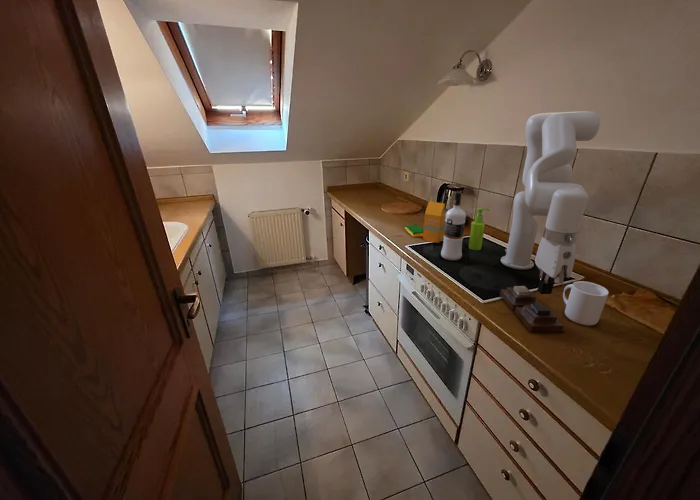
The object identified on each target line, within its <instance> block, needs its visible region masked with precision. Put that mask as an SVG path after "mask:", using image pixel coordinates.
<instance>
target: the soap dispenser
mask: <svg viewBox="0 0 700 500" xmlns="http://www.w3.org/2000/svg"><path fill="white" fill-rule="evenodd" d="M476 211H477V213H476V214H475V216H474V220H473V221H471V224H470V226H471V227H470V233H469V238H468V245H467V247H468V249H469V250H472V251H481V250H482V246H483V239H484V234H485V227H486V222H484V220H483V219H484V215H483V214H482V213H483V211H486V212H488V211H490V209H489V208H486V207H477V208H476Z"/></svg>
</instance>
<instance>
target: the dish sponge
mask: <svg viewBox="0 0 700 500" xmlns="http://www.w3.org/2000/svg"><path fill="white" fill-rule="evenodd" d="M404 227H405V228H404V230H405V231H406V232H407V233H408V234H410V236H412V237H413V238H415V237H416V238H418V237H423V232H424V228H422V227H421V226H420V225H418V224H405V226H404Z"/></svg>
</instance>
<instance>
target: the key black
mask: <svg viewBox="0 0 700 500" xmlns="http://www.w3.org/2000/svg"><path fill="white" fill-rule="evenodd" d="M530 309H531V310H532V311H533V312H534V313H535V314H536V315H549V314H550V311H551V310H550V308H549V307H547V305H545V304H544V303H541V304H531V308H530Z"/></svg>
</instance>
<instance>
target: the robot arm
mask: <svg viewBox="0 0 700 500" xmlns="http://www.w3.org/2000/svg"><path fill="white" fill-rule="evenodd" d="M600 121H601V120H600V116H599V115H598V113H596V111H592V110H585V111H582V110H581V111H560V112H542V113H536V114H533V115H531V116H529V118H528V119H527V121H526V124H525V129H524V134H525V141H526V150H527V151H526V157H525V162H524V165H523V166H524V167H523V172H522V179H521V181H522V185H523V186H524V190H522V191H519V192H517V193H516V194H515V195H514V198H513V207H512V209H513V210H512V211H513V212H512V219H511V226H510V230H509V237H508V240H507V241H508V242H507V247H506V248H505V249H504V252H505V255H503V256H502V257H501V258H500V262H501V264H503V265H504V266H505V267H507V268H511V269H515V270H530V269H533V267H534V266H535V265H536V268H537V269H538V270H539V279H540V280H539V282H538V287H537V290H536V291H537V292H538V293H539V294H540V295H551V294H552V292H553V290H554V286H555V284H558V285H563V284H564V280H565V279H564V278H568V279H569V278H571V276H572V273H573V270H574V265H575V260H576V254H577V244H576V241H577V238H578V233H579V230H580V227H581V223H582V220H583V217H584V214H585V210H586V207H587V203H588V199H589V195H588V193H587V191H586V190H585V188H584V186H583V185H582V184H579V183H573V181H572V180H573V175H574V171H573V167H572V165H571V164H570V163H571V162H573V161H574V160H575V158H576V156H577V154H578V149H577V142H588V141H591V140H593V139H595V138H596V136H597V134H598V133H599V130H600V126H601V122H600ZM534 216H535V217H537V216H540V217H541V216H543V217H546V220H545V226H544V230H543V233H542V237H541V239H540V242H539V244H538V247H537V250H536V253H535V259H534V261H533V260H532V255H533V251H534V248H535V247H534V246H535V242H536V239H537V234H538V228H539V225H538V222H537V221H536V220H535V218H534Z"/></svg>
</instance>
